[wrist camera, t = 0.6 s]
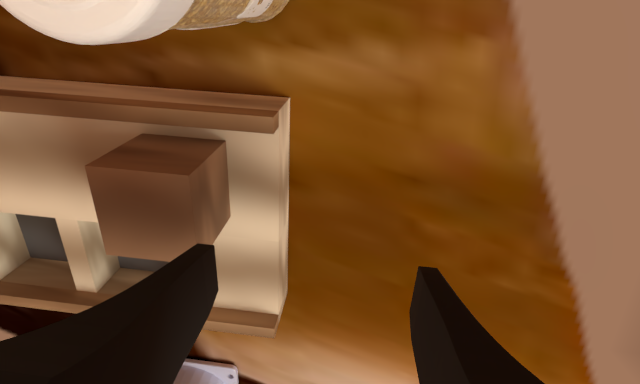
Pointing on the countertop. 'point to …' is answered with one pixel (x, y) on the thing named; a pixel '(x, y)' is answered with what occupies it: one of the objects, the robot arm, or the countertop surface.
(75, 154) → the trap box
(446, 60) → the countertop surface
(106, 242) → the walnut block
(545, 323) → the countertop surface
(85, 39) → the sprinkles bottle
